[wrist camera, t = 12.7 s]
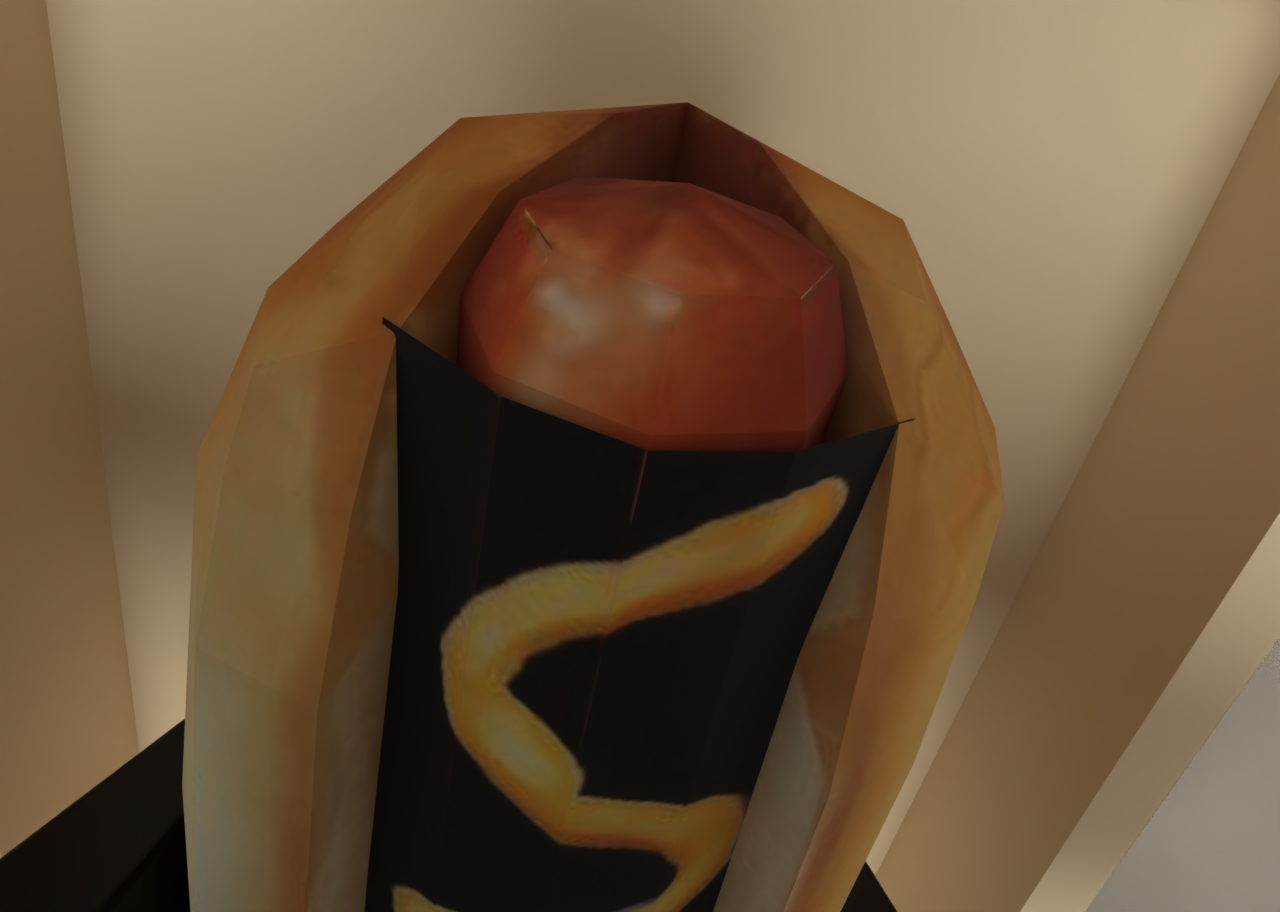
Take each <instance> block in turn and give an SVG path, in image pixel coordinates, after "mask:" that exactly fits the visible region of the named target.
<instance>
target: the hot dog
mask: <svg viewBox="0 0 1280 912" xmlns="http://www.w3.org/2000/svg"><path fill="white" fill-rule="evenodd" d="M1004 502H1005V500H1004V493H1003V485H1002V477H1001V470H1000V462H999V455H998V447H997V440H996V432H995V427H994V424H993V422H992V420H991V417H990V415H989V413H988V410H987V408H986V406H985V403H984V401H983V399H982V396H981V394H980V392H979V389H978V387H977V385H976V382H975V380H974V378H973V376H972V373H971V371H970V369H969V366H968V364H967V362H966V359H965V357H964V355H963V352H962V350H961V348H960V345H959V343H958V341H957V338H956V336H955V334H954V332H953V329H952V327H951V325H950V323H949V320H948V318H947V316H946V314H945V312H944V309H943V307H942V305H941V303H940V300H939V298H938V296H937V294H936V292H935V289H934V287H933V285H932V283H931V280H930V278H929V276H928V274H927V271H926V269H925V267H924V265H923V263H922V260H921V258H920V256H919V254H918V251H917V249H916V247H915V245H914V243H913V240H912V238H911V236H910V234H909V231H908V229H907V227H906V225H905V223H904V220H903V219H901V218H899V217H897V216H896V215H894V214H892V213H890V212H888V211H886V210H885V209H883V208H881V207H879V206H877V205H875V204H874V203H872V202H870V201H868V200H866V199H864V198H863V197H861V196H859V195H857V194H855V193H853V192H852V191H850V190H848V189H846V188H844V187H842V186H841V185H839V184H837V183H835V182H833V181H831V180H830V179H828V178H826V177H824V176H822V175H820V174H819V173H817V172H815V171H813V170H811V169H809V168H808V167H806V166H804V165H802V164H800V163H798V162H797V161H795V160H793V159H791V158H789V157H788V156H786V155H784V154H782V153H780V152H778V151H777V150H775V149H773V148H771V147H769V146H767V145H766V144H764V143H762V142H760V141H758V140H756V139H755V138H753V137H751V136H749V135H747V134H745V133H744V132H742V131H740V130H738V129H736V128H734V127H733V126H731V125H729V124H727V123H725V122H723V121H722V120H720V119H718V118H716V117H714V116H712V115H711V114H709V113H707V112H705V111H703V110H701V109H700V108H698V107H696V106H694V105H692V104H690V103H689V102H685V103H671V104H656V105H641V106H627V107H612V108H597V109H583V110H568V111H553V112H539V113H524V114H509V115H495V116H480V117H465V118H460V119H459V120H457V121H456V122H455V123H454V124H453V125H451V126H450V127H449V128H448V129H447V130H446V131H444V132H443V133H442V134H441V135H440V136H439V137H437V138H436V139H435V140H434V141H433V142H431V143H430V144H429V145H428V146H427V147H426V148H424V149H423V150H422V151H421V152H420V153H419V154H417V155H416V156H415V157H414V158H413V159H411V160H410V161H409V162H408V163H407V164H406V165H404V166H403V167H402V168H401V169H400V170H398V171H397V172H396V173H395V174H394V175H393V176H391V177H390V178H389V179H388V180H387V181H386V182H384V183H383V184H382V185H381V186H380V187H378V188H377V189H376V190H375V191H374V192H373V193H371V194H370V195H369V196H368V197H367V198H366V199H364V200H363V201H362V202H361V203H360V204H358V205H357V206H356V207H355V208H354V209H353V210H351V211H350V212H349V213H348V214H347V215H346V216H344V217H343V218H342V219H341V220H340V221H338V222H337V223H336V224H335V225H334V226H333V227H332V228H331V229H330V230H329V231H328V232H327V233H326V234H325V235H324V236H322V237H321V238H320V239H319V240H318V241H317V242H316V243H315V244H314V245H313V246H312V247H311V248H310V249H309V250H308V251H306V252H305V253H304V254H303V255H302V256H301V257H300V258H299V259H298V260H297V261H296V262H295V263H294V264H293V265H292V266H290V267H289V268H288V269H287V270H286V271H285V272H284V273H283V274H282V275H281V276H280V277H279V278H278V279H277V280H276V281H274V282H273V283H272V284H271V285H270V286H269V287H268V289H267V291H266V294H265V296H264V298H263V301H262V303H261V305H260V308H259V310H258V313H257V315H256V317H255V320H254V322H253V324H252V327H251V329H250V331H249V334H248V336H247V338H246V341H245V343H244V345H243V348H242V350H241V352H240V355H239V357H238V359H237V362H236V364H235V367H234V369H233V371H232V374H231V376H230V378H229V381H228V383H227V385H226V388H225V390H224V392H223V395H222V397H221V399H220V402H219V404H218V406H217V409H216V411H215V414H214V416H213V418H212V421H211V423H210V425H209V428H208V430H207V432H206V435H205V437H204V439H203V442H202V444H201V446H200V449H199V451H198V453H197V456H196V474H195V498H194V521H193V544H192V568H191V591H190V615H189V638H188V661H187V685H186V708H185V731H184V755H183V778H182V791H183V806H184V821H185V836H186V851H187V867H188V882H189V897H190V912H841V910H842V908H843V906H844V904H845V902H846V900H847V897H848V895H849V893H850V891H851V889H852V887H853V885H854V883H855V881H856V879H857V877H858V875H859V873H860V871H861V869H862V867H863V865H864V863H865V861H866V859H867V857H868V855H869V853H870V851H871V849H872V847H873V845H874V843H875V841H876V839H877V837H878V835H879V833H880V831H881V829H882V827H883V825H884V823H885V821H886V819H887V817H888V815H889V813H890V811H891V809H892V807H893V804H894V802H895V800H896V798H897V796H898V794H899V792H900V790H901V788H902V786H903V784H904V782H905V780H906V778H907V776H908V774H909V772H910V770H911V768H912V766H913V764H914V761H915V759H916V756H917V753H918V751H919V748H920V745H921V743H922V740H923V737H924V735H925V732H926V730H927V727H928V724H929V722H930V719H931V716H932V714H933V711H934V708H935V706H936V703H937V701H938V698H939V695H940V693H941V690H942V687H943V685H944V682H945V679H946V677H947V674H948V672H949V669H950V666H951V664H952V661H953V658H954V656H955V653H956V651H957V648H958V645H959V643H960V640H961V637H962V635H963V632H964V629H965V627H966V624H967V622H968V619H969V616H970V614H971V611H972V608H973V606H974V603H975V600H976V598H977V594H978V591H979V587H980V584H981V581H982V577H983V574H984V570H985V567H986V563H987V560H988V557H989V553H990V550H991V546H992V543H993V540H994V536H995V533H996V529H997V526H998V523H999V519H1000V516H1001V512H1002V509H1003V506H1004Z"/></svg>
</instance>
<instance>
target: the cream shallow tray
mask: <svg viewBox="0 0 1280 912" xmlns="http://www.w3.org/2000/svg"><path fill="white" fill-rule="evenodd" d="M685 102H689V103H690V104H692V105H694V106H696V107H698V108H700V109H701V110H703V111H705V112H707V113H709V114H711V115H712V116H714V117H716V118H718V119H720V120H722V121H723V122H725V123H727V124H729V125H731V126H733V127H734V128H736V129H738V130H740V131H742V132H744V133H745V134H747V135H749V136H751V137H753V138H755V139H756V140H758V141H760V142H762V143H764V144H766V145H767V146H769V147H771V148H773V149H775V150H777V151H778V152H780V153H782V154H784V155H786V156H788V157H789V158H791V159H793V160H795V161H797V162H798V163H800V164H802V165H804V166H806V167H808V168H809V169H811V170H813V171H815V172H817V173H819V174H820V175H822V176H824V177H826V178H828V179H830V180H831V181H833V182H835V183H837V184H839V185H841V186H842V187H844V188H846V189H848V190H850V191H852V192H853V193H855V194H857V195H859V196H861V197H863V198H864V199H866V200H868V201H870V202H872V203H874V204H875V205H877V206H879V207H881V208H883V209H885V210H886V211H888V212H890V213H892V214H894V215H896V216H897V217H899V218H901V219H903V220H904V223H905V225H906V227H907V229H908V231H909V234H910V236H911V238H912V240H913V243H914V245H915V247H916V249H917V251H918V254H919V256H920V258H921V260H922V263H923V265H924V267H925V269H926V271H927V274H928V276H929V278H930V280H931V283H932V285H933V287H934V289H935V292H936V294H937V296H938V298H939V300H940V303H941V305H942V307H943V309H944V312H945V314H946V316H947V318H948V320H949V323H950V325H951V327H952V329H953V332H954V334H955V336H956V338H957V341H958V343H959V345H960V348H961V350H962V352H963V355H964V357H965V359H966V362H967V364H968V366H969V369H970V371H971V373H972V376H973V378H974V380H975V382H976V385H977V387H978V389H979V392H980V394H981V396H982V399H983V401H984V403H985V406H986V408H987V410H988V413H989V415H990V417H991V420H992V422H993V424H994V427H995V432H996V440H997V447H998V455H999V462H1000V470H1001V477H1002V485H1003V493H1004V500H1005V502H1004V506H1003V509H1002V512H1001V516H1000V519H999V523H998V526H997V529H996V533H995V536H994V540H993V543H992V546H991V550H990V553H989V557H988V560H987V563H986V567H985V570H984V574H983V577H982V581H981V584H980V587H979V591H978V594H977V598H976V600H975V603H974V606H973V608H972V611H971V614H970V616H969V619H968V622H967V624H966V627H965V629H964V632H963V635H962V637H961V640H960V643H959V645H958V648H957V651H956V653H955V656H954V658H953V661H952V664H951V666H950V669H949V672H948V674H947V677H946V679H945V682H944V685H943V687H942V690H941V693H940V695H939V698H938V701H937V703H936V706H935V708H934V711H933V714H932V716H931V719H930V722H929V724H928V727H927V730H926V732H925V735H924V737H923V740H922V743H921V745H920V748H919V751H918V753H917V756H916V759H915V761H914V764H913V766H912V768H911V770H910V772H909V774H908V776H907V778H906V780H905V782H904V784H903V786H902V788H901V790H900V792H899V794H898V796H897V798H896V800H895V802H894V804H893V807H892V809H891V811H890V813H889V815H888V817H887V819H886V821H885V823H884V825H883V827H882V829H881V831H880V833H879V835H878V837H877V839H876V841H875V843H874V845H873V847H872V849H871V851H870V853H869V855H868V857H867V859H866V862H867V864H868V865H869V867H870V868H871V870H872V872H873V873H874V875H875V876H876V878H877V880H878V881H879V883H880V884H881V886H882V888H883V889H884V891H885V893H886V894H887V896H888V897H889V899H890V901H891V902H892V904H893V905H894V907H895V909H896V910H897V912H1085V911H1086V910H1087V908H1088V907H1089V905H1090V904H1091V903H1092V901H1093V900H1094V898H1095V897H1096V896H1097V894H1098V893H1099V891H1100V890H1101V888H1102V887H1103V886H1104V884H1105V883H1106V881H1107V880H1108V879H1109V877H1110V876H1111V874H1112V873H1113V872H1114V870H1115V869H1116V867H1117V866H1118V864H1119V863H1120V862H1121V860H1122V859H1123V857H1124V856H1125V855H1126V853H1127V852H1128V850H1129V849H1130V848H1131V846H1132V845H1133V843H1134V842H1135V841H1136V839H1137V838H1138V836H1139V835H1140V833H1141V832H1142V831H1143V829H1144V828H1145V826H1146V825H1147V824H1148V822H1149V821H1150V819H1151V818H1152V817H1153V815H1154V814H1155V812H1156V811H1157V810H1158V808H1159V807H1160V805H1161V804H1162V802H1163V801H1164V800H1165V798H1166V797H1167V795H1168V794H1169V793H1170V791H1171V790H1172V788H1173V787H1174V786H1175V784H1176V783H1177V781H1178V780H1179V778H1180V777H1181V776H1182V774H1183V773H1184V771H1185V770H1186V769H1187V767H1188V766H1189V764H1190V763H1191V762H1192V760H1193V759H1194V757H1195V756H1196V755H1197V753H1198V752H1199V750H1200V749H1201V747H1202V746H1203V745H1204V743H1205V742H1206V740H1207V739H1208V738H1209V736H1210V735H1211V733H1212V732H1213V731H1214V729H1215V728H1216V726H1217V725H1218V724H1219V722H1220V721H1221V719H1222V718H1223V716H1224V715H1225V714H1226V712H1227V711H1228V709H1229V708H1230V707H1231V705H1232V704H1233V702H1234V701H1235V700H1236V698H1237V697H1238V695H1239V694H1240V693H1241V691H1242V690H1243V688H1244V687H1245V685H1246V684H1247V683H1248V681H1249V680H1250V678H1251V677H1252V676H1253V674H1254V673H1255V671H1256V670H1257V669H1258V667H1259V666H1260V664H1261V663H1262V661H1263V660H1264V659H1265V657H1266V656H1267V654H1268V653H1269V652H1270V650H1271V649H1272V647H1273V646H1274V645H1275V643H1276V642H1277V640H1278V639H1279V638H1280V0H0V858H1V857H2V856H4V855H5V854H6V853H8V852H9V851H10V850H12V849H13V848H14V847H16V846H17V845H18V844H20V843H21V842H22V841H23V840H25V839H26V838H27V837H29V836H30V835H31V834H33V833H34V832H35V831H37V830H38V829H39V828H41V827H42V826H43V825H45V824H46V823H47V822H49V821H50V820H51V819H53V818H54V817H55V816H57V815H58V814H59V813H60V812H62V811H63V810H64V809H66V808H67V807H68V806H70V805H71V804H72V803H74V802H75V801H76V800H78V799H79V798H80V797H82V796H83V795H84V794H86V793H87V792H88V791H90V790H91V789H92V788H94V787H95V786H96V785H97V784H99V783H100V782H101V781H103V780H104V779H105V778H107V777H108V776H109V775H111V774H112V773H113V772H115V771H116V770H117V769H119V768H120V767H121V766H123V765H124V764H125V763H127V762H128V761H129V760H131V759H132V758H133V757H134V756H136V755H137V754H138V753H140V752H141V751H142V750H144V749H145V748H146V747H148V746H149V745H150V744H152V743H153V742H154V741H156V740H157V739H158V738H160V737H161V736H162V735H164V734H165V733H166V732H168V731H169V730H170V729H171V728H173V727H174V726H175V725H177V724H178V723H179V722H181V721H182V720H183V719H185V708H186V685H187V661H188V638H189V615H190V591H191V568H192V544H193V521H194V498H195V474H196V456H197V453H198V451H199V449H200V446H201V444H202V442H203V439H204V437H205V435H206V432H207V430H208V428H209V425H210V423H211V421H212V418H213V416H214V414H215V411H216V409H217V406H218V404H219V402H220V399H221V397H222V395H223V392H224V390H225V388H226V385H227V383H228V381H229V378H230V376H231V374H232V371H233V369H234V367H235V364H236V362H237V359H238V357H239V355H240V352H241V350H242V348H243V345H244V343H245V341H246V338H247V336H248V334H249V331H250V329H251V327H252V324H253V322H254V320H255V317H256V315H257V313H258V310H259V308H260V305H261V303H262V301H263V298H264V296H265V294H266V291H267V289H268V287H269V286H270V285H271V284H272V283H273V282H274V281H276V280H277V279H278V278H279V277H280V276H281V275H282V274H283V273H284V272H285V271H286V270H287V269H288V268H289V267H290V266H292V265H293V264H294V263H295V262H296V261H297V260H298V259H299V258H300V257H301V256H302V255H303V254H304V253H305V252H306V251H308V250H309V249H310V248H311V247H312V246H313V245H314V244H315V243H316V242H317V241H318V240H319V239H320V238H321V237H322V236H324V235H325V234H326V233H327V232H328V231H329V230H330V229H331V228H332V227H333V226H334V225H335V224H336V223H337V222H338V221H340V220H341V219H342V218H343V217H344V216H346V215H347V214H348V213H349V212H350V211H351V210H353V209H354V208H355V207H356V206H357V205H358V204H360V203H361V202H362V201H363V200H364V199H366V198H367V197H368V196H369V195H370V194H371V193H373V192H374V191H375V190H376V189H377V188H378V187H380V186H381V185H382V184H383V183H384V182H386V181H387V180H388V179H389V178H390V177H391V176H393V175H394V174H395V173H396V172H397V171H398V170H400V169H401V168H402V167H403V166H404V165H406V164H407V163H408V162H409V161H410V160H411V159H413V158H414V157H415V156H416V155H417V154H419V153H420V152H421V151H422V150H423V149H424V148H426V147H427V146H428V145H429V144H430V143H431V142H433V141H434V140H435V139H436V138H437V137H439V136H440V135H441V134H442V133H443V132H444V131H446V130H447V129H448V128H449V127H450V126H451V125H453V124H454V123H455V122H456V121H457V120H459V119H460V118H465V117H480V116H495V115H509V114H524V113H539V112H553V111H568V110H583V109H597V108H612V107H627V106H641V105H656V104H671V103H685Z"/></svg>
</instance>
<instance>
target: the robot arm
mask: <svg viewBox="0 0 1280 912" xmlns="http://www.w3.org/2000/svg"><path fill="white" fill-rule="evenodd" d="M184 731H185V719H183V720H182V721H181V722H179V723H178V724H177V725H175V726H174V727H173V728H171V729H170V730H169V731H168V732H166V733H165V734H164V735H162V736H161V737H160V738H158V739H157V740H156V741H154V742H153V743H152V744H150V745H149V746H148V747H146V748H145V749H144V750H142V751H141V752H140V753H138V754H137V755H136V756H134V757H133V758H132V759H131V760H129V761H128V762H127V763H125V764H124V765H123V766H121V767H120V768H119V769H117V770H116V771H115V772H113V773H112V774H111V775H109V776H108V777H107V778H105V779H104V780H103V781H101V782H100V783H99V784H97V785H96V786H95V787H94V788H92V789H91V790H90V791H88V792H87V793H86V794H84V795H83V796H82V797H80V798H79V799H78V800H76V801H75V802H74V803H72V804H71V805H70V806H68V807H67V808H66V809H64V810H63V811H62V812H60V813H59V814H58V815H57V816H55V817H54V818H53V819H51V820H50V821H49V822H47V823H46V824H45V825H43V826H42V827H41V828H39V829H38V830H37V831H35V832H34V833H33V834H31V835H30V836H29V837H27V838H26V839H25V840H23V841H22V842H21V843H20V844H18V845H17V846H16V847H14V848H13V849H12V850H10V851H9V852H8V853H6V854H5V855H4V856H2V857H1V858H0V912H190V897H189V882H188V867H187V851H186V836H185V821H184V806H183V791H182V778H183V755H184ZM841 912H897V910H896V909H895V907H894V905H893V904H892V902H891V901H890V899H889V897H888V896H887V894H886V893H885V891H884V889H883V888H882V886H881V884H880V883H879V881H878V880H877V878H876V876H875V875H874V873H873V872H872V870H871V868H870V867H869V865H868V864H867V862H866V861H865V863H864V865H863V867H862V869H861V871H860V873H859V875H858V877H857V879H856V881H855V883H854V885H853V887H852V889H851V891H850V893H849V895H848V897H847V900H846V902H845V904H844V906H843V908H842V910H841Z"/></svg>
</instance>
